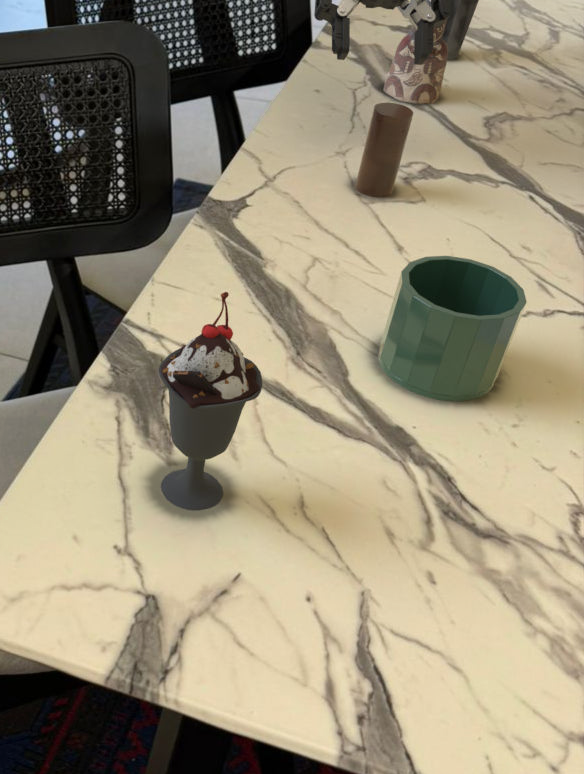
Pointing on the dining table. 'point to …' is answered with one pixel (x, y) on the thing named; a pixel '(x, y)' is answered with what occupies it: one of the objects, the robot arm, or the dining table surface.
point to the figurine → (417, 70)
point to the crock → (450, 327)
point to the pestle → (383, 149)
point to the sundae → (205, 408)
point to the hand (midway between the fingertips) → (382, 59)
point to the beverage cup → (458, 25)
